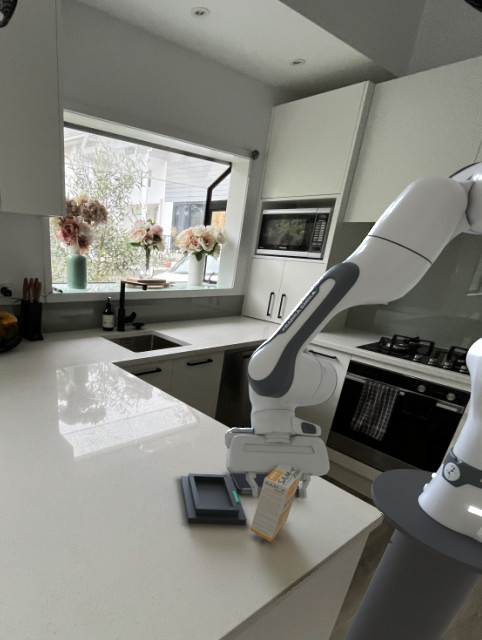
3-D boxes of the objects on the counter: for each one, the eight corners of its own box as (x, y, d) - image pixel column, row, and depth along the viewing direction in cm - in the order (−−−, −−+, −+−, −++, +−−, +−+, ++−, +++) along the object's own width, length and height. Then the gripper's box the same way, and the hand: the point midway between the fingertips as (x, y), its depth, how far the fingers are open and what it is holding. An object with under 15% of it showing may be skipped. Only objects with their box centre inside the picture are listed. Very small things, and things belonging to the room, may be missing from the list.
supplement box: (272, 543, 72) (289, 490, 67) (249, 530, 75) (263, 477, 69) (287, 521, 78) (304, 470, 73) (265, 510, 81) (280, 459, 75)
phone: (301, 490, 87) (238, 490, 86) (300, 493, 88) (237, 494, 86) (286, 469, 94) (228, 469, 93) (285, 473, 95) (228, 473, 93)
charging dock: (230, 482, 90) (232, 472, 89) (245, 525, 78) (248, 514, 76) (180, 480, 89) (181, 470, 88) (187, 523, 77) (189, 512, 76)
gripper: (228, 423, 75) (231, 494, 70) (328, 427, 76) (338, 497, 71) (220, 431, 81) (223, 497, 76) (313, 434, 82) (321, 500, 77)
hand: (279, 497), depth 74 cm, fingers closed on supplement box, 7 cm apart
